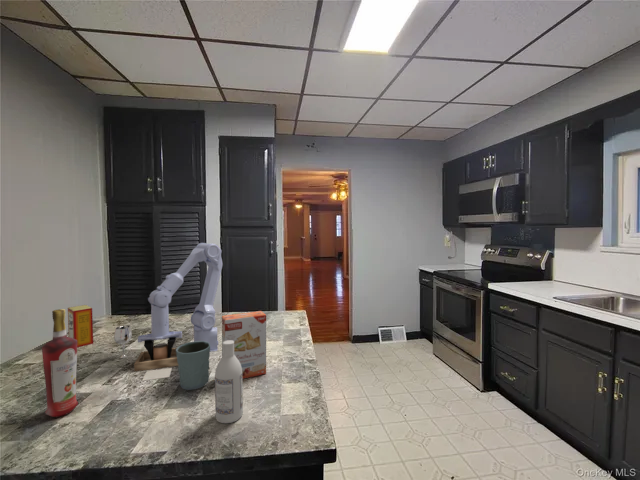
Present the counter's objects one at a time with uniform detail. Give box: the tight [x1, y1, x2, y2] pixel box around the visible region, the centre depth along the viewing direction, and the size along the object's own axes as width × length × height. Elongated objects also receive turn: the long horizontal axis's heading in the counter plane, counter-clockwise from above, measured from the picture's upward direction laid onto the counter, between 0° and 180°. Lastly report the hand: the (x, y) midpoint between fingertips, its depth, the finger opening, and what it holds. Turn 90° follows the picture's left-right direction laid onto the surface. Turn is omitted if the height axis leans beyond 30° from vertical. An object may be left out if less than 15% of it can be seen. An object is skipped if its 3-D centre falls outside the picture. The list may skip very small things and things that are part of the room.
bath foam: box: [214, 340, 244, 424], centre depth 81 cm, size 7×7×20 cm
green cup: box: [176, 340, 211, 391], centre depth 99 cm, size 10×10×12 cm
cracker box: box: [221, 310, 267, 380], centre depth 104 cm, size 14×6×21 cm, turn 117°
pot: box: [153, 342, 168, 360], centre depth 114 cm, size 5×5×6 cm
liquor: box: [41, 308, 79, 418], centre depth 83 cm, size 7×7×28 cm
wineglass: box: [113, 325, 133, 359], centre depth 118 cm, size 6×6×12 cm
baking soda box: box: [67, 304, 94, 348], centre depth 134 cm, size 10×6×16 cm
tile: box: [141, 367, 173, 382], centre depth 104 cm, size 8×7×1 cm
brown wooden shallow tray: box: [133, 347, 179, 373], centre depth 114 cm, size 15×11×3 cm
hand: (161, 358), depth 114 cm, fingers closed on pot, 5 cm apart
